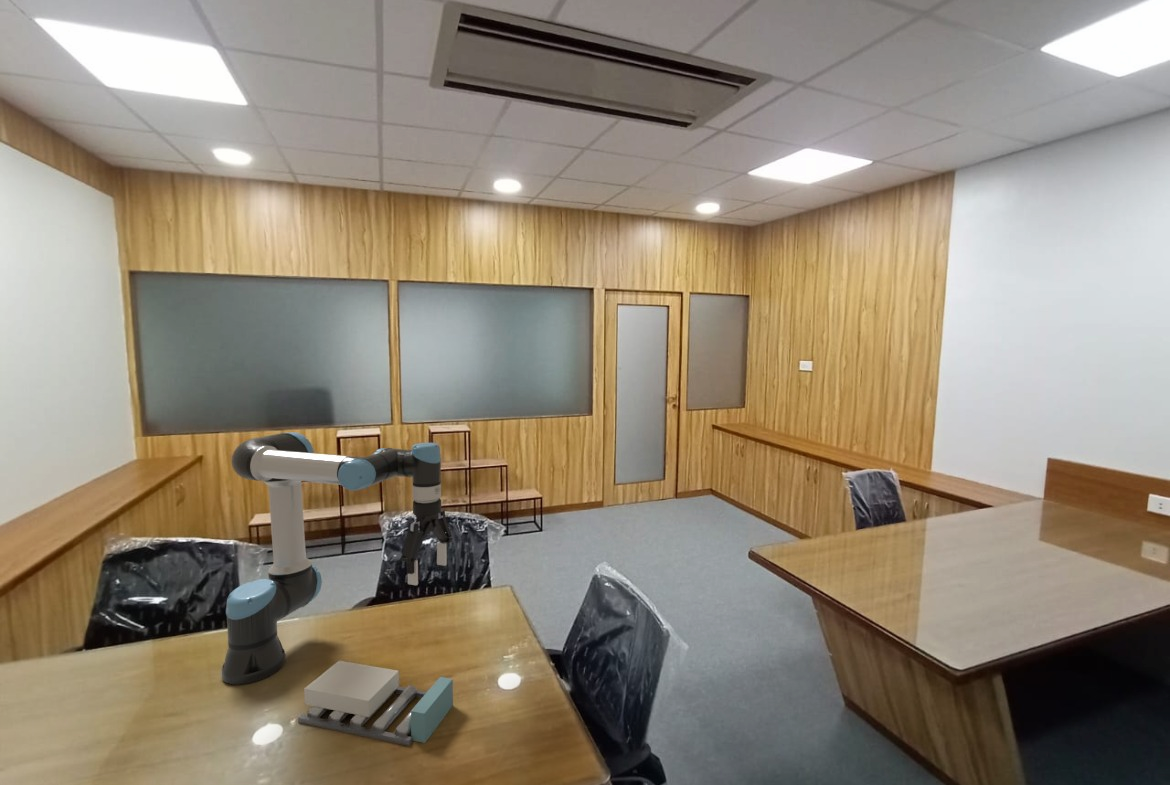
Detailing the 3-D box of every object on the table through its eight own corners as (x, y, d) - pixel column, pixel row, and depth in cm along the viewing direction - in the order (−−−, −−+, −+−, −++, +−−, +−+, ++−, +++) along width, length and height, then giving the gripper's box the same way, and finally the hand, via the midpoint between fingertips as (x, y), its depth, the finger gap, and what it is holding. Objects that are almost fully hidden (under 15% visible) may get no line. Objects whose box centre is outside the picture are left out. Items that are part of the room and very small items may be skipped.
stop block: (411, 740, 118) (410, 711, 118) (440, 703, 131) (440, 676, 130) (424, 742, 118) (424, 713, 117) (453, 705, 130) (452, 678, 130)
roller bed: (409, 745, 117) (408, 733, 116) (298, 722, 124) (297, 710, 124) (445, 699, 132) (445, 688, 132) (345, 681, 140) (345, 670, 140)
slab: (304, 704, 126) (304, 688, 126) (339, 674, 137) (339, 660, 137) (368, 717, 121) (368, 700, 121) (399, 685, 133) (398, 670, 133)
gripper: (410, 513, 130) (411, 595, 131) (463, 489, 153) (463, 559, 155) (385, 510, 132) (386, 591, 133) (441, 487, 156) (441, 555, 157)
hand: (428, 574), depth 144 cm, fingers open, 13 cm apart
